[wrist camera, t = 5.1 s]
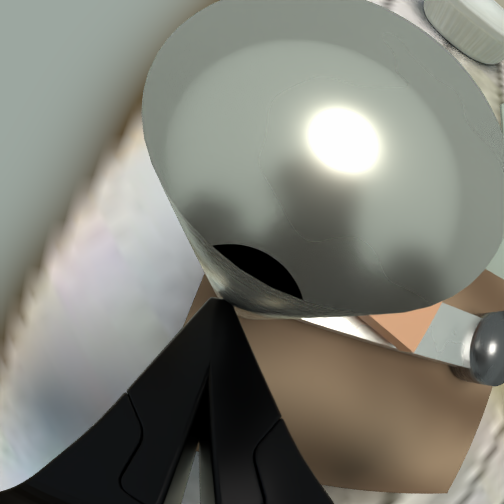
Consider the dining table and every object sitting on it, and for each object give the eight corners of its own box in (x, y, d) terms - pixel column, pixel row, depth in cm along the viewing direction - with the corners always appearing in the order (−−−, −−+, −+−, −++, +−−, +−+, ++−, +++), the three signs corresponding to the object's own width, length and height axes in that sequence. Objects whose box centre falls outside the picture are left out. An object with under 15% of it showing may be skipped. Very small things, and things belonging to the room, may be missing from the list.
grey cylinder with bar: (499, 322, 13) (663, 298, 3) (484, 385, 13) (651, 399, 2) (229, 220, 13) (237, -35, 3) (199, 301, 13) (60, 209, 2)
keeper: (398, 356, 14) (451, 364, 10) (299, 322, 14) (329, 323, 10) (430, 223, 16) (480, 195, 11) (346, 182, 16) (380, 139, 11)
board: (438, 487, 12) (446, 493, 11) (149, 423, 13) (144, 429, 12) (503, 287, 15) (514, 285, 14) (251, 170, 15) (253, 161, 14)
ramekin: (414, -12, 22) (430, -43, 17) (493, 38, 22) (513, 13, 17) (412, 29, 20) (436, -11, 15) (507, 93, 20) (537, 64, 15)
